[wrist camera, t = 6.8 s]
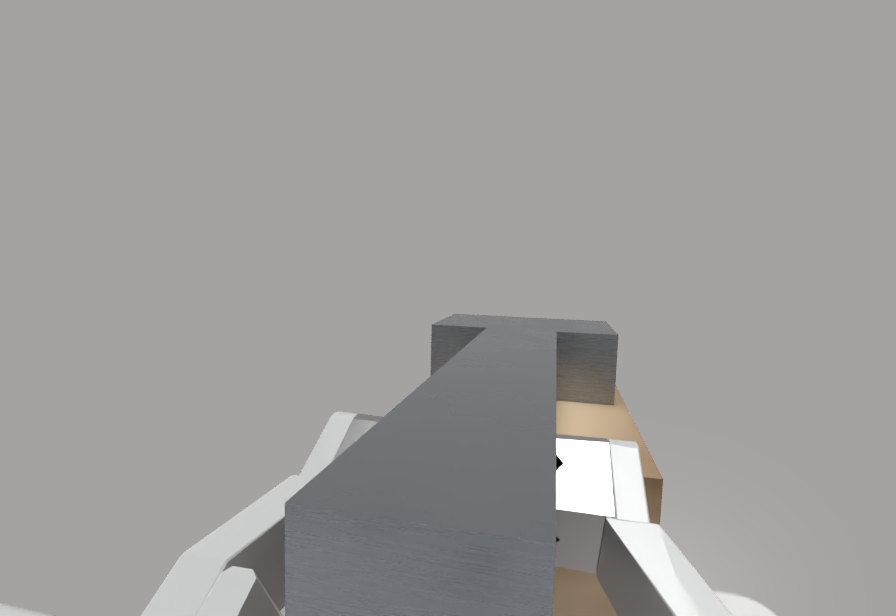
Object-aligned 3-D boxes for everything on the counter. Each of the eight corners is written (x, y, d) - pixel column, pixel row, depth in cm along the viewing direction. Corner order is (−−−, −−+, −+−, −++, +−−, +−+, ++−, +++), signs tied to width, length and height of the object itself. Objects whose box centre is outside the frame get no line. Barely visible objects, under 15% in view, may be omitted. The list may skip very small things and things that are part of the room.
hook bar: (814, 890, 4) (849, 588, 4) (112, 697, 6) (104, 475, 6) (602, 378, 25) (606, 321, 25) (453, 367, 27) (454, 313, 26)
